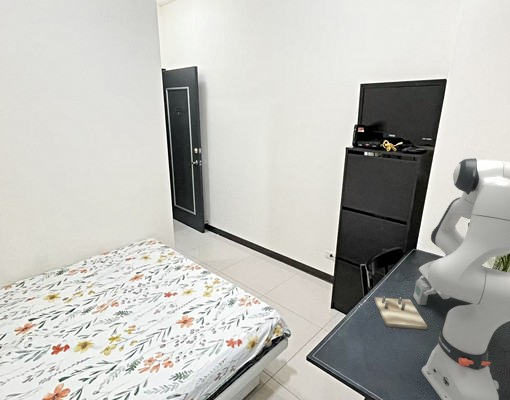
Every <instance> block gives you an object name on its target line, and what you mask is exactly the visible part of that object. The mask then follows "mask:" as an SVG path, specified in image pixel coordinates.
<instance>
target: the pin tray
mask: <svg viewBox="0 0 510 400" xmlns="http://www.w3.org/2000/svg"><path fill="white" fill-rule="evenodd" d="M373 301H374V302H375V305H376V307H377V309H378V312H379V313H380V315H381V318H382V320H383V322H384V324H385V326H386V327H390V328H392V327H393V328H404V329H415V330H416V329H417V330H427V329H428V325H427V323H426V322H425V321H424V319H423V317H422V316H421V315H420V312H419V311H418V309H417V307H416V306H415V305H414V303H413V301H411V299H405V298H403V297H402V296H399V297H398V298H391V297H387V296H385V295H383V296H382V297H378V296H376V297H374V300H373Z"/></svg>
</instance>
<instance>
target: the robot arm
mask: <svg viewBox="0 0 510 400" xmlns="http://www.w3.org/2000/svg"><path fill="white" fill-rule="evenodd" d="M452 180H453V184H454V185H453V186H455V187H456V189H458V190H459V191H462V195H461V196H460V197H457V198H456V197H455V199H453V200H452V201H451V202H450V203H449V205H448V206H447V208H446V210H445V211H444V213H443V215H442V217H441V219H440V221H439V222H438V224H437V225H436V227H435V228H434V229H433V230H432V232H431V233H430V240H431V242H432V244H434V245H435V246H436V247H437V248H439V249H440V250H441V251H442V252H443V253H444V255H447V256H443V257H440V258H437V259H436V260H435V259H434V260H432V261H428V262H427V263H424V264H423V265H421V266H420V267H419V268H418V271H419V272H420V273H421V274H422V275H420V277H419V278H418V279H419V280H425V281H426V282H428V283H429V286H430V290H424V291H423V293H424V295H425V296H428V297H429V295H436V294H438V295H439V296H440V297H441V299H442V300H448V299H450V298H453V299H456V300H459V301H463V302H465V303H470V304H466V305H465V304H464V305H463V304H462V305H457V306H454V307H452V308H451V309H449V310H448V312H447V314H446V317H445V321H444V325H443V328H441V330H440V332H439V335H438V338H437V339H438V340H437V345H436V346H435V347H434V348H433V349H432V351H431V352H430V355H429V358H428V360H427V361H426V362H427V363H426V364H425V365H423V367H422V368H421V373H422V375H423V376H424V378H425V379H426V380H427V381H428V383H429V384H430V385H431V387H432V389H433V390H434V391H435V392H436V394H437V395H438V396H439V398H440V399H441V400H500V398H499V393H498V391H497V390H499V389H500V385H499V381H497V380H496V379H493V376H492V375H491V372H490V370H491V369H490V367H489V366H491V364H492V362H490V361H489V358H488V357H489V349H488V346H489V343H490V341H491V339H492V336H493V334H494V333H495V332H496V331H497V329H498V328H499V327H501V326H502V325H504V324H507V323H508V322H510V272H507V271H504V270H500V269H499V270H498V269H495V268H491V267H487V266H484V264H485V263H486V262H488V261H489V260H490V259H491V258H497V257H502V256H507V255H509V254H510V161H505V160H500V159H485V158H484V159H482V158H481V159H477V158H475V157H474V158H464V159H463V160H461V161H460V162H459V163H458V164H457V166H455V169H454V171H453V174H452ZM461 218H464V219H466V220H469V224H468V226H467V227H468V228H467V231H466V234H465V236H464V235H462V234H461V233H460V232H459V231H458V229H457V228H456V225H457V224H458V223H459V221H460V219H461ZM416 282H417V280H416V281H415V283H416Z"/></svg>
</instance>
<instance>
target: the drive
mask: <svg viewBox="0 0 510 400" xmlns="http://www.w3.org/2000/svg"><path fill="white" fill-rule="evenodd" d="M416 281H417V282H416ZM416 281H415V288H414V292H413V299H414V300H415V302H416V303H417V305H421V306H426V305H427V303H428V298H429V295H428V296H425V295H424V293H423V291H424V290H431V285H430V284H428V283H427V280H426V281H425V280H419V278H418V279H416Z"/></svg>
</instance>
